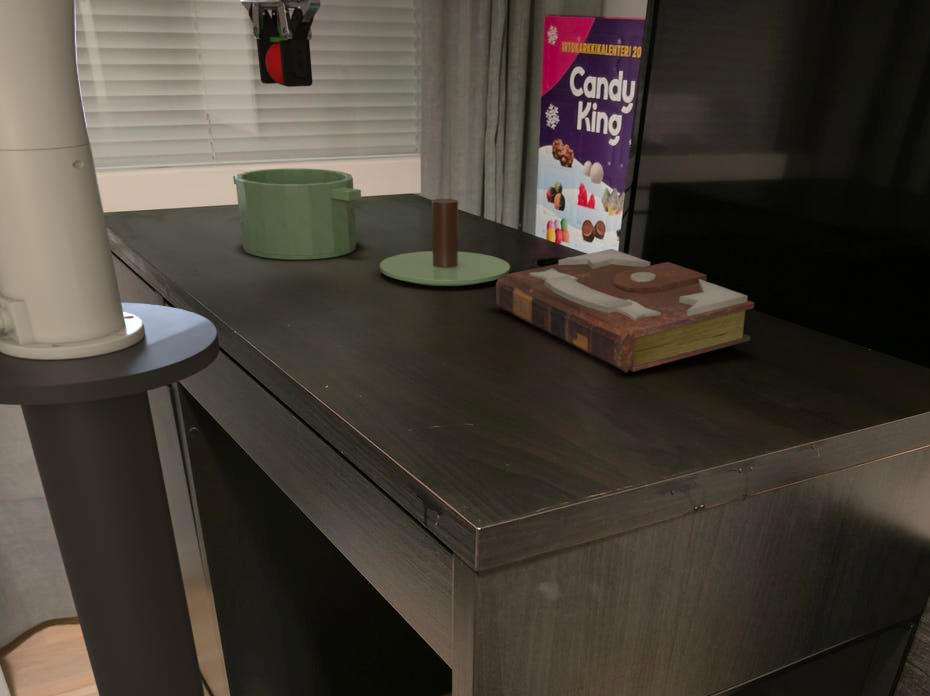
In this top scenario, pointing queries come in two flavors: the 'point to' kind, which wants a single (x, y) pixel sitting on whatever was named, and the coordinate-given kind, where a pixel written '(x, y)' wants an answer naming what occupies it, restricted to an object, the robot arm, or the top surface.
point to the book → (626, 308)
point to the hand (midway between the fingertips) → (286, 82)
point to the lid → (444, 256)
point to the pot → (297, 213)
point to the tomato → (275, 59)
